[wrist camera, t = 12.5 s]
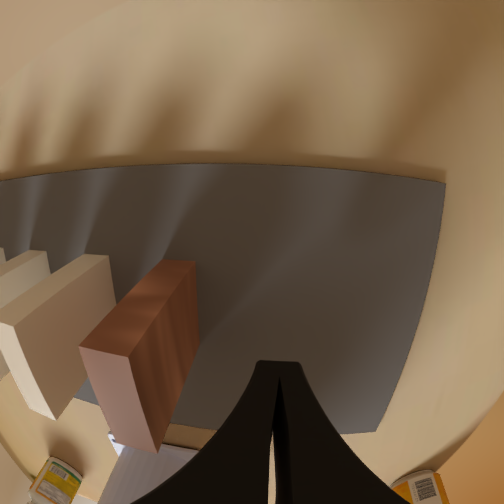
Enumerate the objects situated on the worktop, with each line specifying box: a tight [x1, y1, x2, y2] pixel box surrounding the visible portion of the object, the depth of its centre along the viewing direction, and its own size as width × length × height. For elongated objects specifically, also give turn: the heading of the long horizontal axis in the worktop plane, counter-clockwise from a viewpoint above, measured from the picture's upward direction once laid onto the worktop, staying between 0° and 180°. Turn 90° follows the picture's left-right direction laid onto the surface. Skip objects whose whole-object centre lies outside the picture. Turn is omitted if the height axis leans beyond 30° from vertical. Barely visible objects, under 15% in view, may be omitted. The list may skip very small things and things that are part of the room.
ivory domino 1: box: [0, 250, 51, 381], centre depth 11 cm, size 2×4×7 cm, turn 178°
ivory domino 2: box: [0, 254, 116, 421], centre depth 11 cm, size 2×4×7 cm, turn 179°
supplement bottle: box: [27, 457, 82, 504], centre depth 20 cm, size 5×5×10 cm
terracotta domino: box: [78, 259, 200, 454], centre depth 11 cm, size 2×4×7 cm, turn 178°
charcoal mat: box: [0, 163, 446, 435], centre depth 15 cm, size 16×34×1 cm, turn 89°
